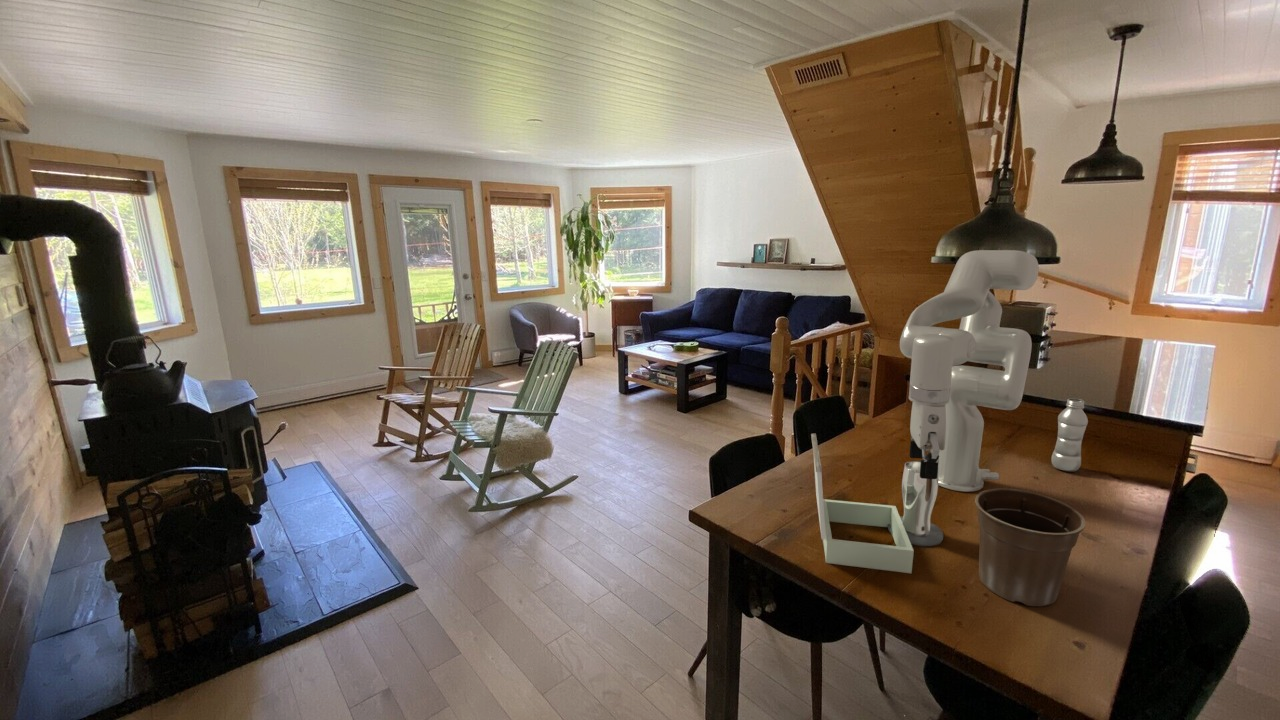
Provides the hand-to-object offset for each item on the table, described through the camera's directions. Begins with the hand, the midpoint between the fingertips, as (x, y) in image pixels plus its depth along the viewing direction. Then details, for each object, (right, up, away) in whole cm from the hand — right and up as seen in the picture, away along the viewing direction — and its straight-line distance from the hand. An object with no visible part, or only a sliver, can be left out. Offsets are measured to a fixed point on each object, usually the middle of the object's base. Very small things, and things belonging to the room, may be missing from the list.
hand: (922, 467), depth 116 cm
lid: (-23, -3, -1) cm, 23 cm away
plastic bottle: (+56, -7, +31) cm, 65 cm away
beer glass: (0, -15, +3) cm, 15 cm away
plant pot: (+9, -19, -16) cm, 27 cm away
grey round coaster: (0, -15, +3) cm, 15 cm away
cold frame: (-13, -16, -1) cm, 21 cm away
